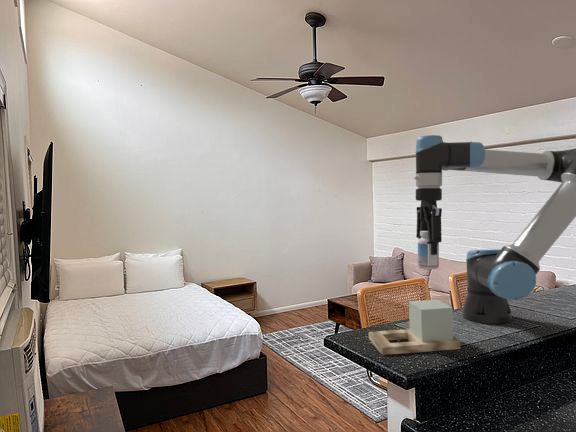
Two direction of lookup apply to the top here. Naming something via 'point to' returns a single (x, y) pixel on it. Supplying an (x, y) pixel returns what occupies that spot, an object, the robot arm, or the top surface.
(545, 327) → the top surface
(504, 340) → the top surface
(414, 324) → the block
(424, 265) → the pill bottle
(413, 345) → the board
